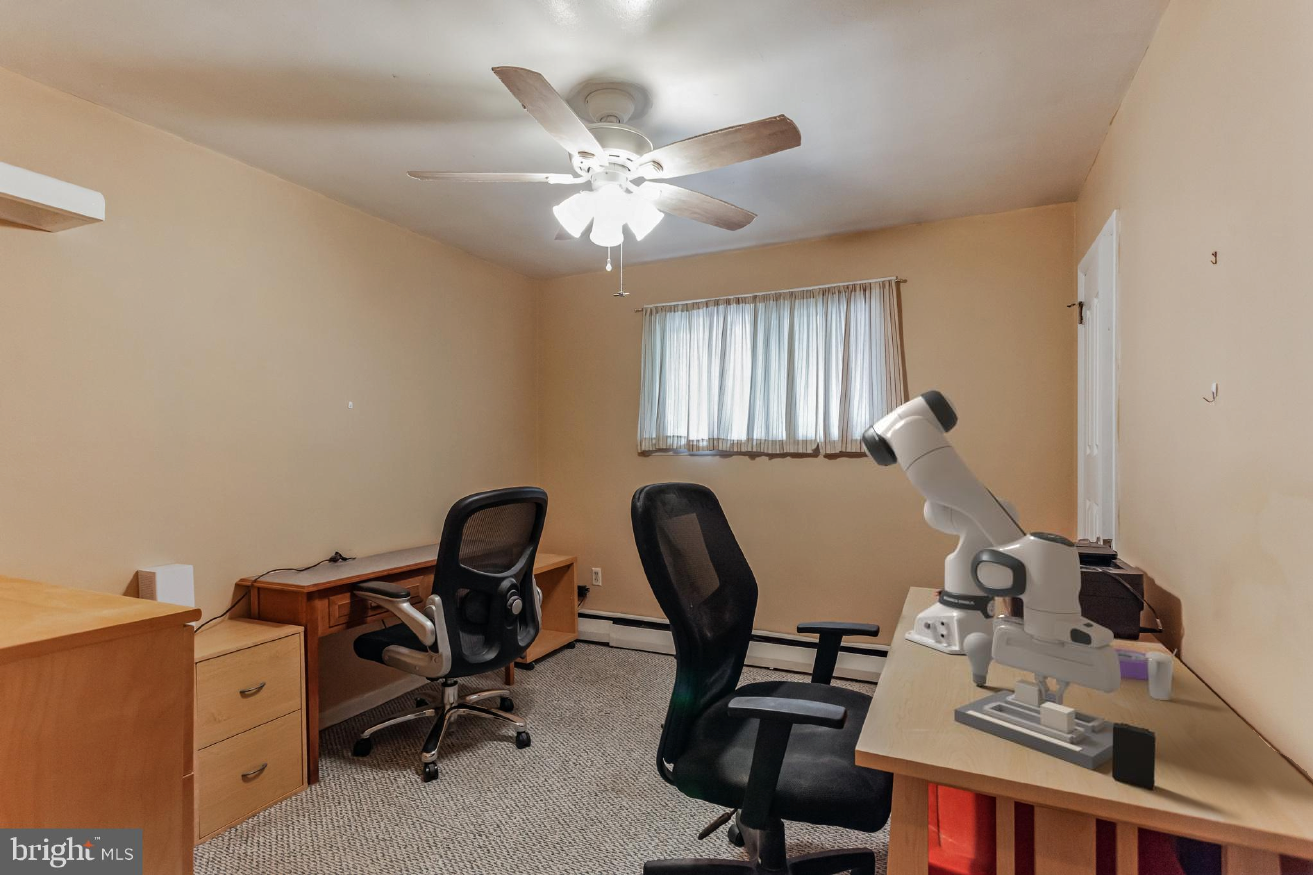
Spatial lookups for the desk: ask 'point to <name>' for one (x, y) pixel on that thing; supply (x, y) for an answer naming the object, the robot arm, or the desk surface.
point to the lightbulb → (979, 655)
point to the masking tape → (1132, 664)
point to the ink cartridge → (1133, 755)
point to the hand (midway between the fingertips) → (1052, 701)
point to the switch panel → (1040, 729)
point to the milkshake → (1159, 674)
